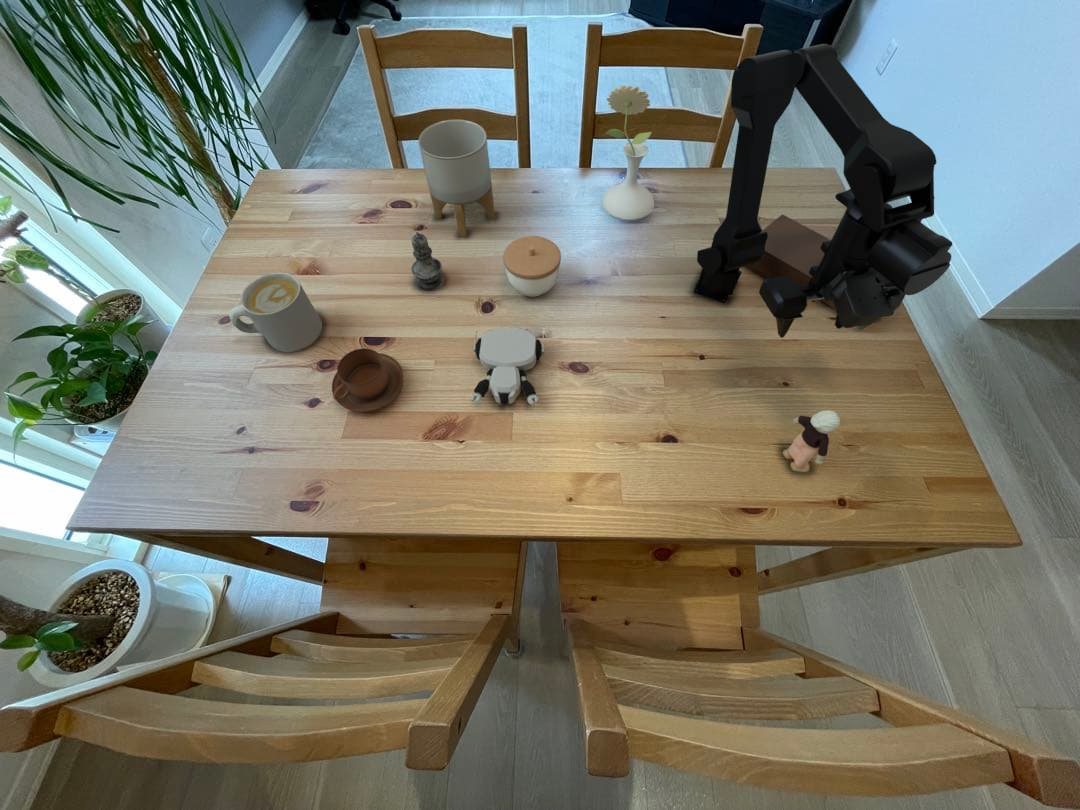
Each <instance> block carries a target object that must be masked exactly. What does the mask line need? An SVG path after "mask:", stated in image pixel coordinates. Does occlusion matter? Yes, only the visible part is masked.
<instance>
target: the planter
mask: <svg viewBox="0 0 1080 810" xmlns="http://www.w3.org/2000/svg"><path fill="white" fill-rule="evenodd" d="M487 138H488V137H487V132H486V130H485V129H484V127H482V126H481V125H479V123H476V122H475V121H474V122H473V121H470V120H467V119H446V120H442V121H438V122H436V123H433V124H431V125H429V126H427V127H426V128H424V129H423V130H422V131H421V133H420V134H419V137H418V140H417V141H418V147H419V151H420V156H421V160H422V165H423V169H424V174H425V178H426V182H427V187H428V190H429V195H430V200H431V203H432V208H433V213H434V218H435V220H442V218H443V209H444V208H445V206H446V205H448V204H449V205H452V206H453V211H454V216H455V221H456V228H457V232H458V237H467V224H466V223H467V222H466V205H469V204H472V203H474V202H475V203H477V204H478V205H480V206H481V207H482V208H483V209H484V210H485V212H486V214H487V216H488V220H495V218H496V210H495V202H494V201H495V200H494V192H493V183H492V174H491V165H490V156H489V147H488V139H487Z"/></svg>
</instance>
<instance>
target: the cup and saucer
mask: <svg viewBox="0 0 1080 810" xmlns="http://www.w3.org/2000/svg"><path fill="white" fill-rule="evenodd" d="M333 376H334V377H333V378H332V383H331V392H332V395H333V399H334V400H335V401H336V402H337V403H338V404H339V405H340V406H341V407H343V408H344V409H347V410H349V411H353V412H356V413H367V412H373V411H376V410H379V409H381V408H383V407H385V406H387V405H388V404H390V403H392V401H393V400H394V399H395V398H396V397H397V395H398V394H399V393H400V391H401V389H402V387H403V383H404V372H403V368H402V366H401V364H400V362H398V360H396V359H395V358H394V357H393V356H390V355H388V354H386V353H381V352H378V351H376V350H374V349H371V348H368V347H367V348H365V347H364V348H362V347H361V348H357V349H353V350H351V351H349V352H347V353H346V354H345V355H344V356H342V358H341V359H340V361H339V362H338V364H337V367H336V372H335V375H333Z"/></svg>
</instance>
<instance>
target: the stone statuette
mask: <svg viewBox="0 0 1080 810" xmlns="http://www.w3.org/2000/svg"><path fill="white" fill-rule="evenodd" d="M411 245H412V248H413V251H412V255H413V257H414V258H415V262H413V264H412V265H411V269H410V270H411V273H412V275H413V276H414V277H415V278H416V286H417V287H418V288H419V289H421V290H422V291H426V292H432V291H435V290H438V289H439V288H440V287H442V285H443V284H444V277H443V275H442V274H441V273H442V269H443V266H442V263H441V261H440V260H439V259H437V258H436V257H433V256H432V253H433V249H432V248H431V247H430V246H429V242H428V238H427V236H426V235H425V234H423V233H420V232H419V231H416V232H415V234H414V235H413V236H412V238H411Z"/></svg>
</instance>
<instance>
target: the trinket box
mask: <svg viewBox="0 0 1080 810" xmlns="http://www.w3.org/2000/svg"><path fill="white" fill-rule="evenodd" d="M502 260H503V266H504V272H505V275H506V278H507V280H508V283H509V284H510V285H511V287H513V289H514V290H515V291H516V292H518V293H520V294H522V295H523V296H525V297H530V298H533V297H535V298H536V297H540V296H542V295H544V294H545V293H547V292H549V290H551V289H552V288H553V287H554V285H555V284H556V283H557V280H558V278H559V274H560V269H561V261H562V253H561V250H560V248H559V247H558V245H557V244H556V243H555V242H554V241H552V240H550V239H548V238H546V237H544V236H537V235H528V236H522V237H519V238H516V239H515V240H513V241H511V242H510V243H508V245H507V246H506V248H505V249H504V251H503V255H502Z"/></svg>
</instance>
